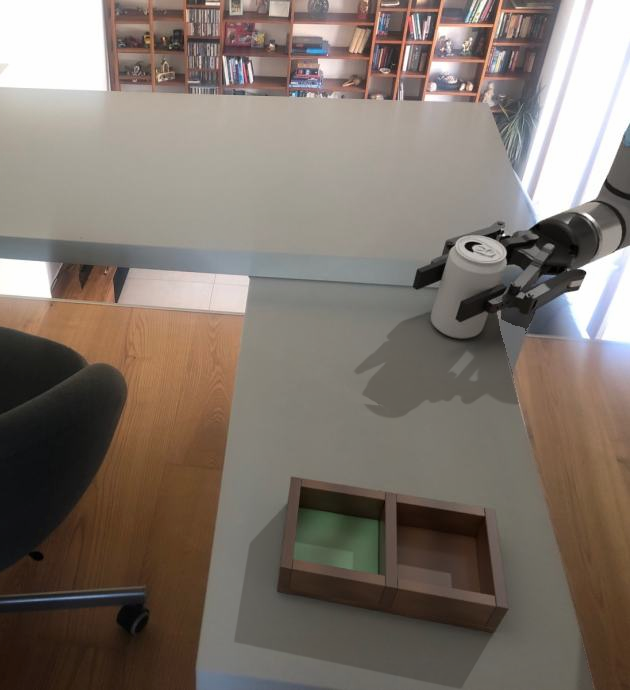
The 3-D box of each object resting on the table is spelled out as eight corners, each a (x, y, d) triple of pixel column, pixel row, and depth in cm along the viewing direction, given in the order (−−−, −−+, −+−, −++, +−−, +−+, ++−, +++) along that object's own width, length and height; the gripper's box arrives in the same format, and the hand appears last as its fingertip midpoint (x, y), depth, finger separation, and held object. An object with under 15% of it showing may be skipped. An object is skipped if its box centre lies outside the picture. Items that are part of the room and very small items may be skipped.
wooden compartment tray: (482, 535, 66) (495, 509, 63) (494, 633, 59) (509, 609, 56) (287, 502, 70) (291, 476, 67) (276, 591, 63) (280, 566, 60)
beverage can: (444, 303, 92) (467, 226, 84) (490, 324, 89) (519, 246, 80) (419, 326, 89) (441, 249, 81) (467, 349, 85) (494, 270, 77)
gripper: (627, 302, 86) (492, 367, 78) (504, 228, 99) (377, 278, 91) (653, 252, 81) (512, 316, 73) (520, 181, 94) (388, 229, 86)
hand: (438, 295), depth 82 cm, fingers closed on beverage can, 6 cm apart
